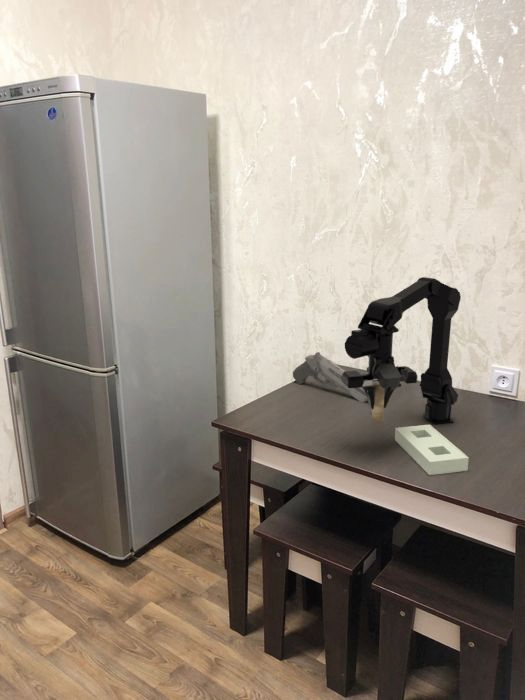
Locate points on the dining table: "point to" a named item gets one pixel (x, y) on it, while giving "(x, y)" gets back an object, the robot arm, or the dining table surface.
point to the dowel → (378, 404)
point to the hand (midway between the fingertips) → (377, 408)
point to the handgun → (325, 375)
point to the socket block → (431, 449)
